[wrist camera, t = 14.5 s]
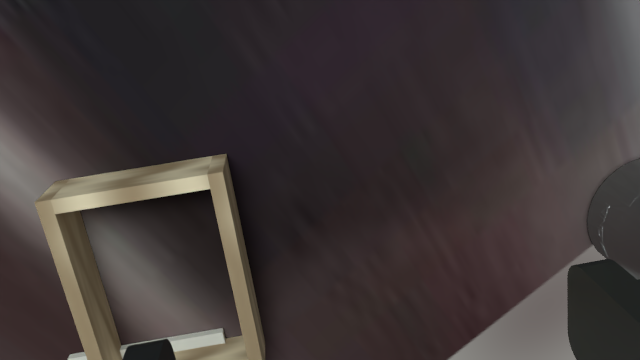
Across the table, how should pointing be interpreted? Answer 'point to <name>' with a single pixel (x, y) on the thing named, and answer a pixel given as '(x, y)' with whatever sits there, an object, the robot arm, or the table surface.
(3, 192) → the table surface
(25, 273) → the table surface
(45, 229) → the wooden frame
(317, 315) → the table surface
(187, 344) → the mat
